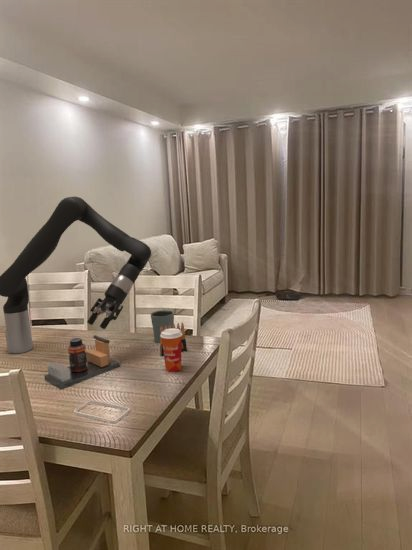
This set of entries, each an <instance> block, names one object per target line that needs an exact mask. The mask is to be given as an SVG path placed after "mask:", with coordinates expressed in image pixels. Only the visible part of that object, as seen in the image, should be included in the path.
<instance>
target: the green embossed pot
mask: <svg viewBox="0 0 412 550" xmlns="http://www.w3.org/2000/svg"><path fill="white" fill-rule="evenodd" d="M150 319H151V320H150V321H151V325H152V330H153V339H154V342H156V343H158V344H160V327H161V326H162V328H163V331H164V328H165V325H166V327H167V329H169V324H170V326H171V328H173V324H175V323H174V321H175V312H174V310H169V309H168V310H167V309H165V310H164V309H163V310H156V311H153V312H151V313H150Z"/></svg>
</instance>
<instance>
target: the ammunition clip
mask: <svg viewBox="0 0 412 550" xmlns="http://www.w3.org/2000/svg"><path fill="white" fill-rule="evenodd" d="M173 328H175V329H179V330H180V331H181V333H182V336H181V353H184V352H183V351H185V352H187V351H188V348H187V340H186V332H185V325H184V322H183V321H182V322H181V324H180V323H179V322H177V324H176V325H175V323H174V324H173ZM165 329H167V327H166V325H165V328H164V330H165ZM169 329H171V326H170V324H169ZM162 331H163V328H162V326H161V327H160V335H161V332H162ZM159 355H160V356H161V357H163V358H164V353H163V345H162V338H161V336H160V343H159Z"/></svg>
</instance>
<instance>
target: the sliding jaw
mask: <svg viewBox="0 0 412 550" xmlns="http://www.w3.org/2000/svg"><path fill="white" fill-rule="evenodd" d="M93 339H94V346H95V349H94V348H92V349H89V350H86V356H87V361H89V362H91V363H93V364H96V365H98V366H100V367H103V366H106V365H109V362H110V359H111V357H110V345H109V344H110V342H111V341H110V339H107V338H104V337H101V336H98V335H93Z"/></svg>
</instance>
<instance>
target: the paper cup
mask: <svg viewBox="0 0 412 550" xmlns="http://www.w3.org/2000/svg"><path fill="white" fill-rule="evenodd" d="M175 328H176V327H175ZM175 328H171V329H165V330H164V331H162V332H161V335H160V336H161V338H162V345H163V353H164V356H163V360H164V366H165V371H167V372H170V373H174V372H175V373H177V372H179V371H180V370H182V352H181V336H182V333H181V329H180V330H179V329H177V328H176V329H175Z"/></svg>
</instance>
